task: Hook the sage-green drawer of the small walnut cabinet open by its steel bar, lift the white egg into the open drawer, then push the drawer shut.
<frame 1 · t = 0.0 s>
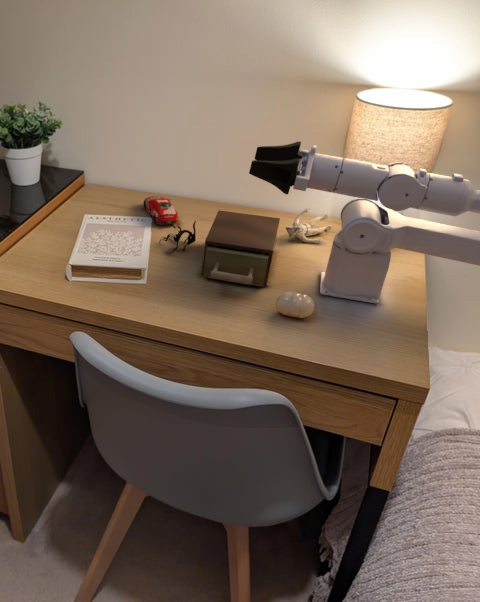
hand: (253, 159, 96), 22 cm above the table, tool horizontal, fingers open, 7 cm apart
race car: (160, 216, 130), on the table
egg: (292, 314, 95), on the table
cabinet: (238, 263, 110), on the table
creature: (176, 247, 117), on the table
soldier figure: (307, 236, 120), on the table
drawer: (237, 257, 104), point 4 cm above the table, slide at 0.5 cm
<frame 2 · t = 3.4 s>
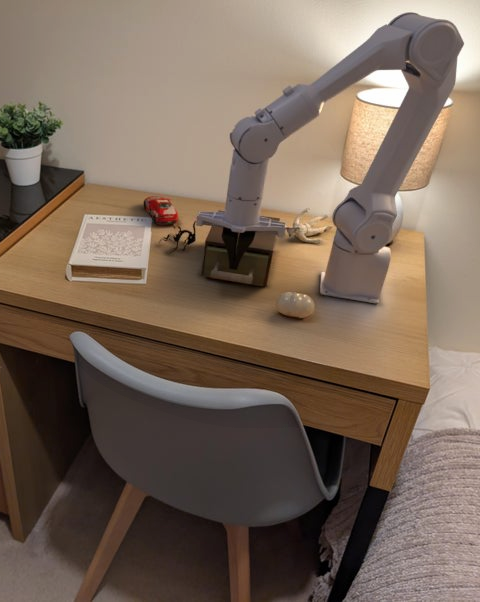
hand: (233, 266, 100), 5 cm above the table, tool pointing down, fingers closed
nothing on the table moved.
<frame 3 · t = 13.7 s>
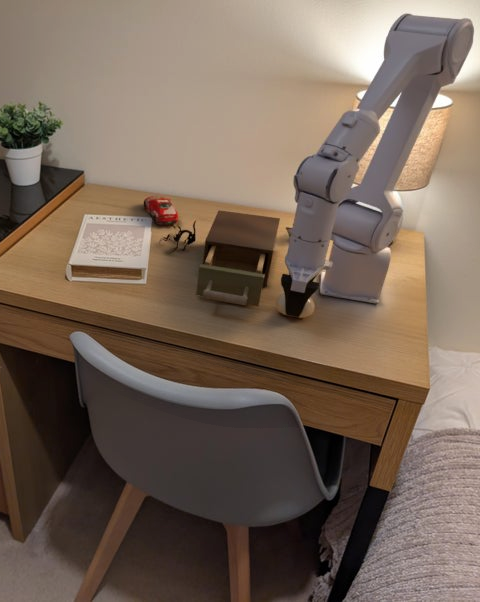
hand: (294, 307, 94), 1 cm above the table, tool pointing down, fingers closed on egg, 4 cm apart
egg: (292, 314, 95), on the table, touching gripper
drawer: (232, 274, 99), point 4 cm above the table, slide at 7.3 cm
everything else where it was.
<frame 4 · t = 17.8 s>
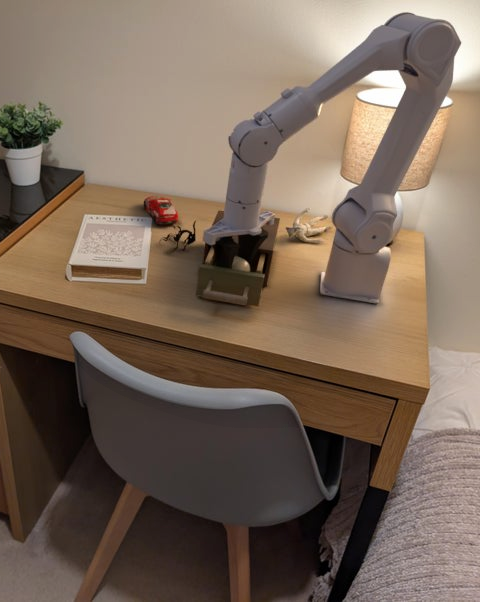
hand: (233, 270, 99), 4 cm above the table, tool pointing down, fingers closed on egg, 4 cm apart
egg: (232, 277, 100), point 3 cm above the table, touching gripper
everything else where it was.
when the fingers open (4 cm above the table, at t = 18.2 s): egg stays where it is and tips over, resting on drawer.
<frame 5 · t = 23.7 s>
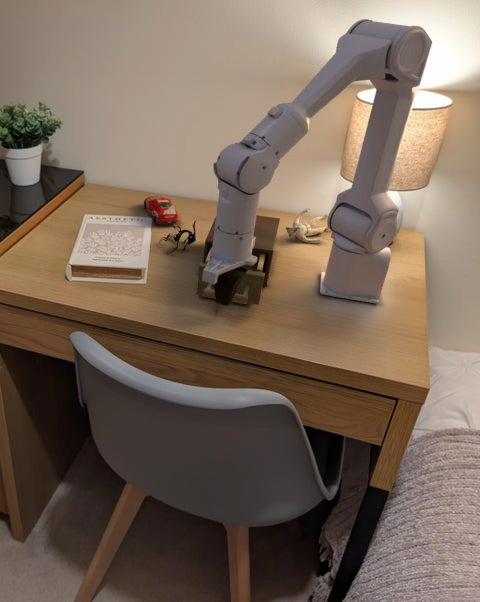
hand: (223, 302, 91), 4 cm above the table, tool pointing down, fingers closed
egg: (231, 279, 101), point 2 cm above the table, tilted 35°, touching drawer
drawer: (232, 273, 99), point 4 cm above the table, slide at 6.9 cm, touching egg, gripper
everything else where it was.
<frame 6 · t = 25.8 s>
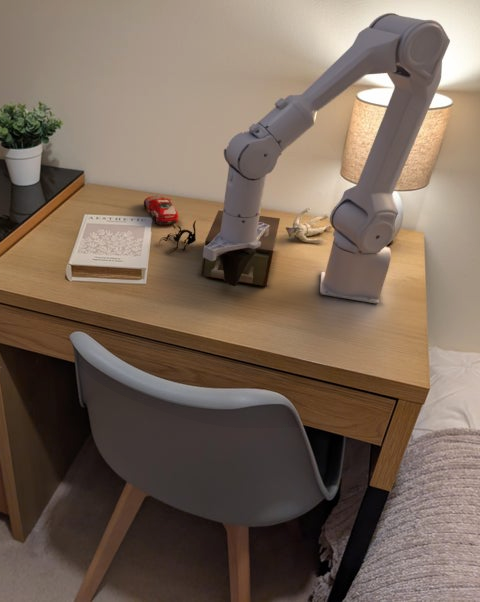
hand: (230, 283, 97), 3 cm above the table, tool pointing down, fingers closed, pressing on drawer
egg: (237, 263, 106), point 2 cm above the table, tilted 7°, touching drawer
drawer: (238, 256, 105), point 4 cm above the table, slide at 0.0 cm, touching cabinet, egg, gripper
everything else where it was.
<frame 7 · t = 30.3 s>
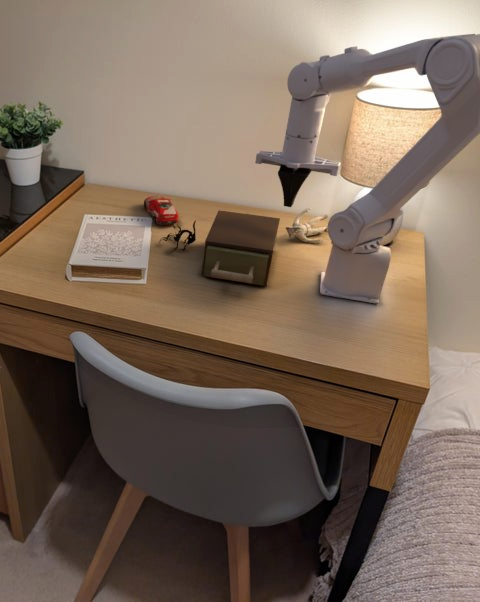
hand: (288, 204, 108), 10 cm above the table, tool pointing down, fingers closed
egg: (239, 258, 106), point 3 cm above the table, tilted 56°, touching drawer
drawer: (238, 256, 105), point 4 cm above the table, slide at 0.0 cm, touching cabinet, egg
everything else where it was.
at the end: drawer pulled out 7.5 cm at the most during the clip, back to where it started at the end; egg inside the target area in the cabinet (3.4 cm from its centre), point 2.8 cm above the cabinet's base; drawer slide at 0.0 cm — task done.
